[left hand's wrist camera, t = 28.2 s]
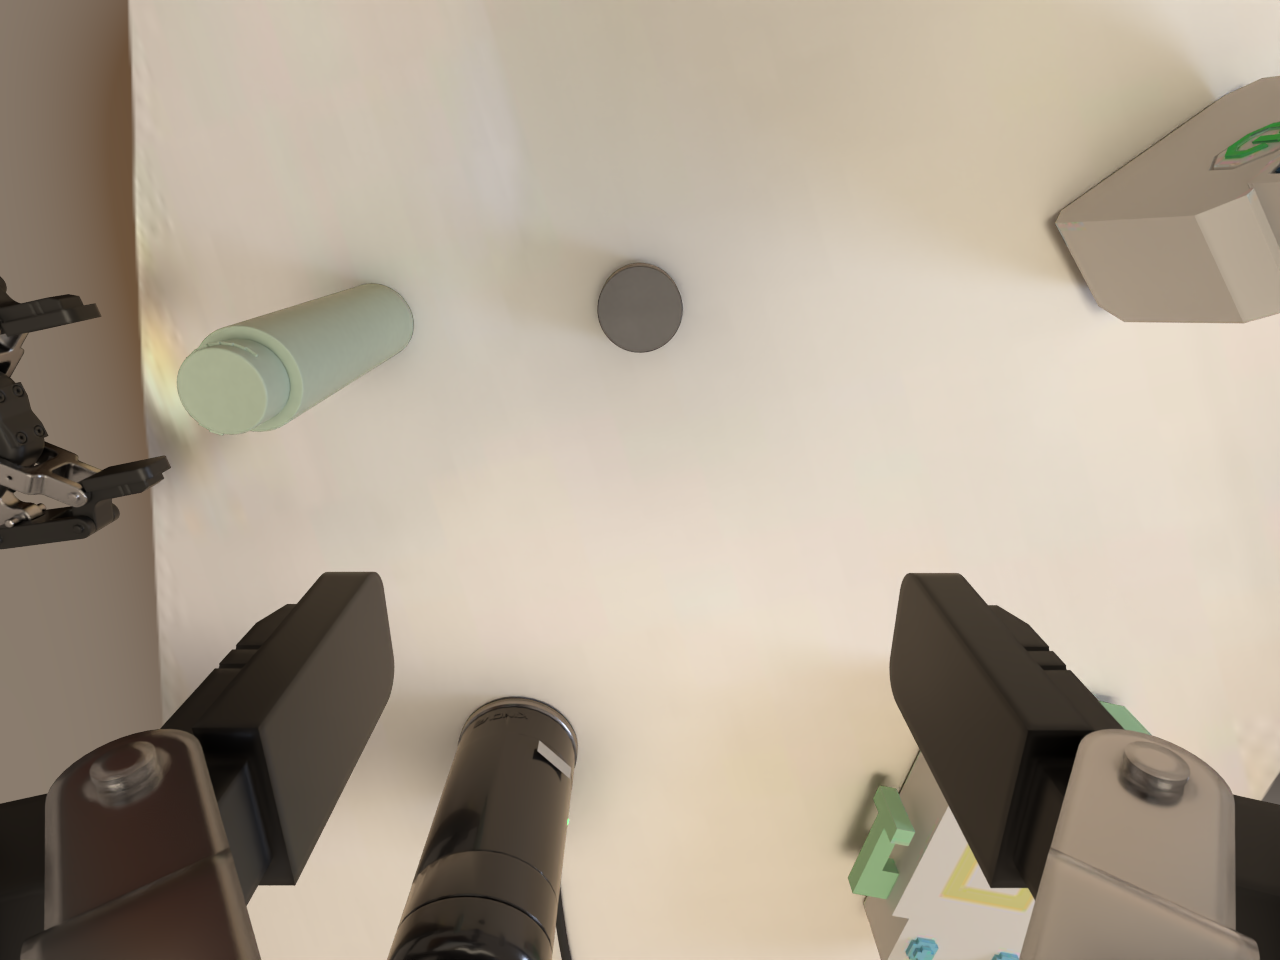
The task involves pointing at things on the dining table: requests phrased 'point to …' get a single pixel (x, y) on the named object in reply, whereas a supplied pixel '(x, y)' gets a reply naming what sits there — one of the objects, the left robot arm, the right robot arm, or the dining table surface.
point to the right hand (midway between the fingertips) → (125, 392)
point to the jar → (291, 359)
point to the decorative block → (937, 878)
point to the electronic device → (1189, 220)
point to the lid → (640, 308)
